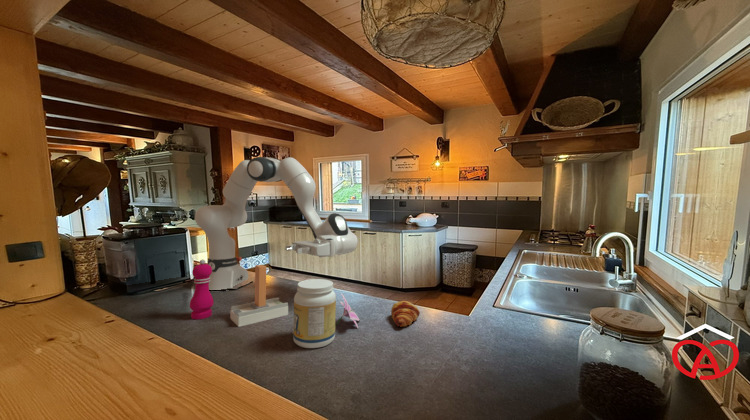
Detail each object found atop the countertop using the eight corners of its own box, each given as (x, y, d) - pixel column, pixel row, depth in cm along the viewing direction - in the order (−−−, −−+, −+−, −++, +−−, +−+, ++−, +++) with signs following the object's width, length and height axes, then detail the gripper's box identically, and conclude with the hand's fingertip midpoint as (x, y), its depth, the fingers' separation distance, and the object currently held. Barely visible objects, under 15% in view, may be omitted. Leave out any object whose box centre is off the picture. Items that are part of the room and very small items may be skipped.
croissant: (400, 316, 115) (391, 298, 116) (423, 307, 113) (414, 288, 114) (392, 339, 94) (381, 316, 95) (420, 327, 92) (409, 304, 93)
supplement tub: (290, 334, 89) (291, 279, 89) (329, 328, 94) (330, 276, 94) (296, 353, 78) (297, 290, 78) (339, 345, 83) (341, 286, 82)
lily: (346, 340, 89) (361, 311, 90) (317, 318, 93) (333, 291, 95) (359, 336, 99) (373, 311, 101) (334, 317, 104) (347, 293, 105)
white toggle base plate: (277, 307, 112) (277, 297, 112) (288, 314, 105) (288, 303, 105) (230, 318, 100) (230, 306, 100) (238, 326, 94) (238, 314, 94)
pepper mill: (194, 321, 97) (195, 262, 97) (185, 316, 101) (186, 259, 101) (217, 315, 103) (217, 259, 102) (207, 311, 107) (208, 257, 107)
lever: (262, 303, 106) (263, 264, 106) (269, 308, 102) (269, 266, 102) (251, 306, 104) (252, 265, 103) (257, 310, 99) (258, 268, 99)
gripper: (310, 236, 127) (280, 239, 118) (336, 240, 111) (303, 243, 102) (311, 251, 127) (280, 254, 118) (336, 256, 111) (303, 261, 102)
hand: (291, 249), depth 110 cm, fingers open, 8 cm apart
